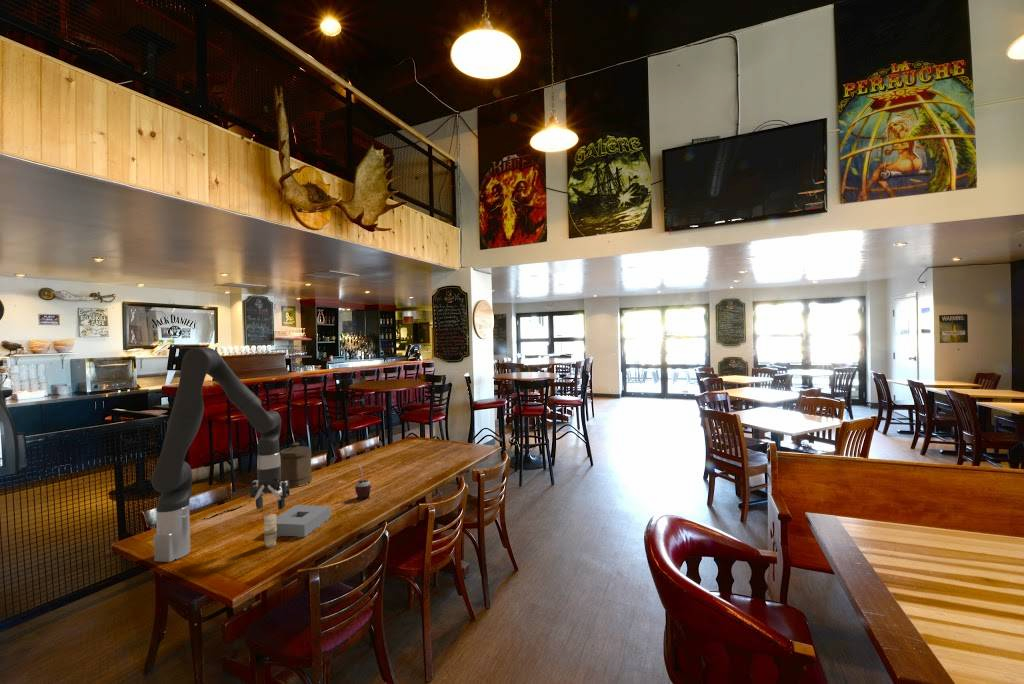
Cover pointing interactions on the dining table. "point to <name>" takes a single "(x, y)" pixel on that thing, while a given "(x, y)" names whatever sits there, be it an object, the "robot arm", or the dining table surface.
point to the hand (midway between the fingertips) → (270, 508)
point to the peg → (270, 530)
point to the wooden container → (296, 465)
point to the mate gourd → (363, 488)
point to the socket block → (301, 520)
